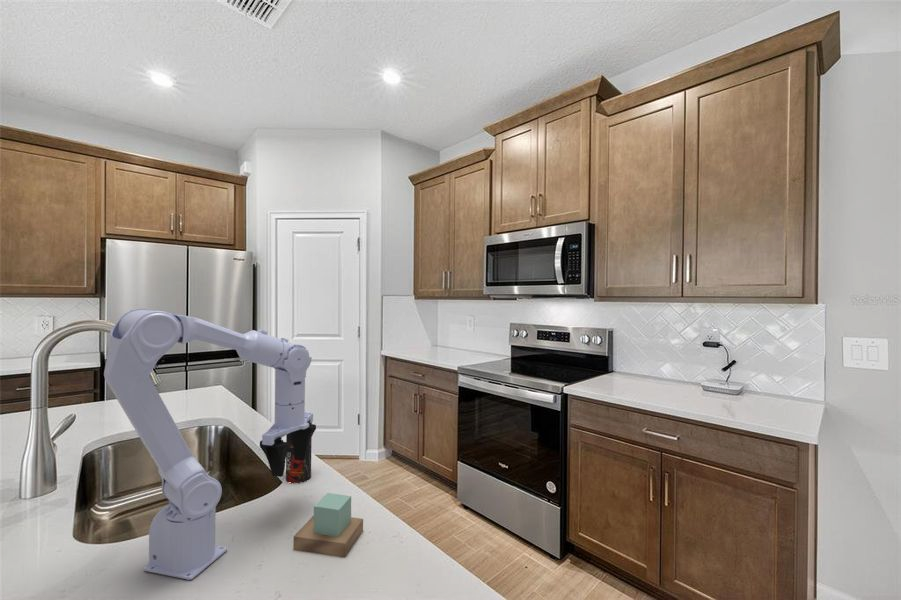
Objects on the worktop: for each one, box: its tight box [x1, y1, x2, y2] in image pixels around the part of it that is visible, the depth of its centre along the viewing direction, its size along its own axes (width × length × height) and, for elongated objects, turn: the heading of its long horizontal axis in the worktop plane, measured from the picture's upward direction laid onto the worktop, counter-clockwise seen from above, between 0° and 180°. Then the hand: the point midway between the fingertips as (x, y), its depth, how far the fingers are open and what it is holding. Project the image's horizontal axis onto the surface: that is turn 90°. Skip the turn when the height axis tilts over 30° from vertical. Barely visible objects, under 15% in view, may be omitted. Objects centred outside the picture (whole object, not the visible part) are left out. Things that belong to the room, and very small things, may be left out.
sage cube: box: [313, 492, 352, 537], centre depth 76 cm, size 5×5×5 cm
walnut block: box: [292, 514, 364, 558], centre depth 76 cm, size 10×8×3 cm
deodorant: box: [285, 422, 313, 484], centre depth 100 cm, size 6×6×15 cm
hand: (289, 467), depth 83 cm, fingers open, 7 cm apart
